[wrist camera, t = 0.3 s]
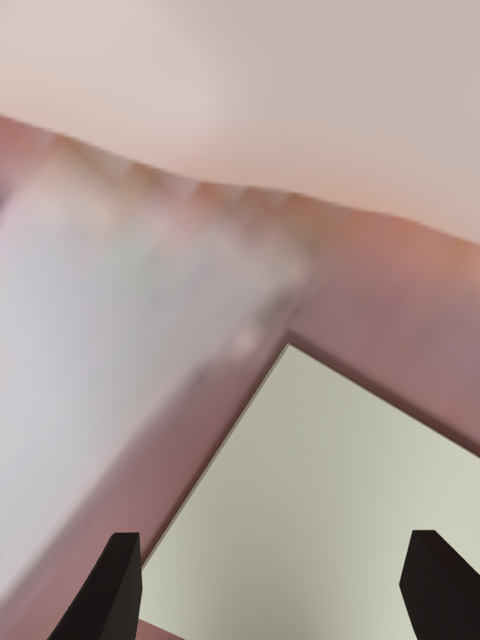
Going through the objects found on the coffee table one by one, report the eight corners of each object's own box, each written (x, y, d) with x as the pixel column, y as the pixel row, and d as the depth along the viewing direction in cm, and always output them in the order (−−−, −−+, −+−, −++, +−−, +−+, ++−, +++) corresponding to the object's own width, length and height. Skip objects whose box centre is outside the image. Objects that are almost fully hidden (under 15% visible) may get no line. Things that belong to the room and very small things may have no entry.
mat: (369, 713, 25) (372, 724, 25) (120, 599, 23) (117, 608, 22) (547, 497, 23) (556, 504, 22) (287, 342, 20) (289, 345, 20)
